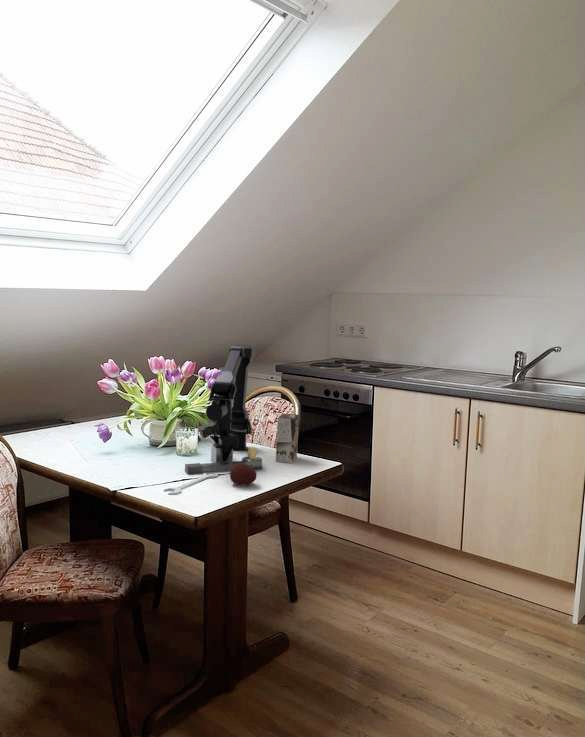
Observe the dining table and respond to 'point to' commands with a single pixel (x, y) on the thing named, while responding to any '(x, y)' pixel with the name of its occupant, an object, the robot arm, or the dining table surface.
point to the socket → (219, 454)
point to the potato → (242, 474)
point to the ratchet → (225, 464)
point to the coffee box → (287, 438)
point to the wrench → (190, 483)
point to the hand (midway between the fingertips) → (221, 458)
